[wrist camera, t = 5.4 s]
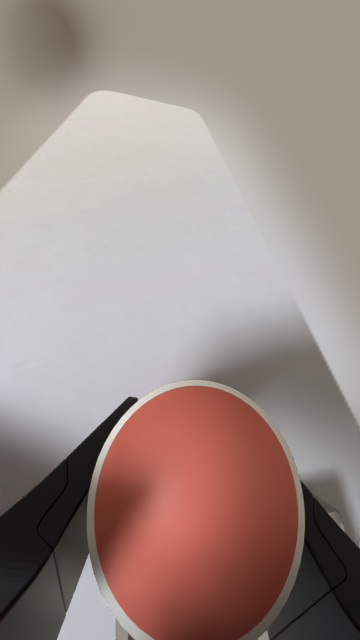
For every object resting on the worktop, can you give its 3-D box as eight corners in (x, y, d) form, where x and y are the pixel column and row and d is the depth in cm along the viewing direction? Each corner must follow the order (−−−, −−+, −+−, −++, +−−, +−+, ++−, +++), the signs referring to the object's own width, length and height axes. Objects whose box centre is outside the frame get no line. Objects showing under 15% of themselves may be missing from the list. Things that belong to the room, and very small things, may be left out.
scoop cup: (142, 471, 13) (77, 702, 3) (139, 396, 15) (92, 391, 5) (211, 460, 14) (340, 625, 4) (200, 388, 16) (269, 370, 6)
